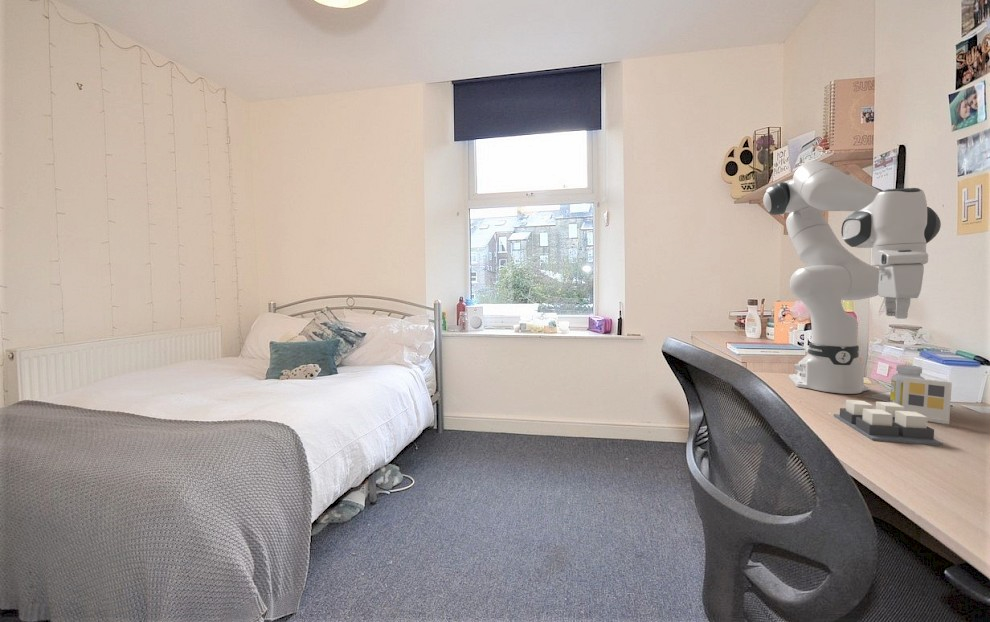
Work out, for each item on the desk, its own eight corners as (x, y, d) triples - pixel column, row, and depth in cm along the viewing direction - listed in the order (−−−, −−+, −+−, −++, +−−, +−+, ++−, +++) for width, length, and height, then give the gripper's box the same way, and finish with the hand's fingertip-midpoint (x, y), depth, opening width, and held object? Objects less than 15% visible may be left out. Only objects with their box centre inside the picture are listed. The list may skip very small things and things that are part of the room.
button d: (862, 421, 92) (862, 408, 92) (881, 422, 91) (882, 409, 91) (871, 426, 89) (872, 413, 89) (891, 428, 88) (892, 414, 88)
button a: (875, 413, 97) (876, 401, 97) (893, 414, 96) (894, 402, 96) (884, 418, 94) (885, 405, 94) (904, 419, 93) (904, 407, 93)
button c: (845, 411, 99) (846, 399, 99) (863, 412, 98) (863, 400, 98) (853, 416, 96) (854, 404, 95) (872, 417, 95) (873, 405, 94)
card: (901, 415, 102) (903, 376, 101) (948, 422, 96) (951, 381, 95) (901, 416, 101) (903, 377, 100) (949, 424, 95) (951, 383, 94)
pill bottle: (932, 414, 102) (935, 369, 101) (902, 413, 103) (904, 368, 103) (911, 406, 108) (913, 364, 108) (883, 405, 110) (885, 363, 109)
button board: (833, 416, 102) (834, 405, 102) (891, 419, 99) (892, 409, 99) (872, 440, 87) (872, 427, 87) (942, 445, 84) (943, 433, 83)
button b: (894, 423, 91) (895, 410, 91) (914, 424, 90) (915, 411, 90) (905, 429, 87) (906, 415, 87) (926, 430, 86) (927, 417, 86)
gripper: (871, 261, 104) (869, 314, 104) (889, 256, 87) (886, 319, 88) (905, 259, 100) (903, 315, 101) (931, 254, 83) (928, 320, 84)
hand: (895, 317), depth 94 cm, fingers open, 8 cm apart
